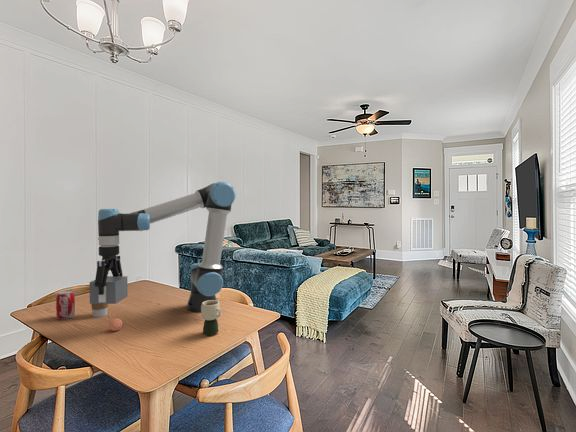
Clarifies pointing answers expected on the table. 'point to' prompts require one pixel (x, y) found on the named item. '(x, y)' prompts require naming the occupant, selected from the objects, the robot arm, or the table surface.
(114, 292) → the grey cubic block
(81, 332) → the table surface
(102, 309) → the coffee cup
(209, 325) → the character mug
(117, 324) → the ball
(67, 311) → the soda can
